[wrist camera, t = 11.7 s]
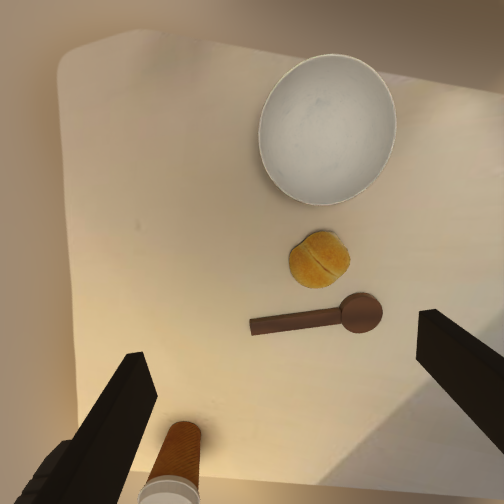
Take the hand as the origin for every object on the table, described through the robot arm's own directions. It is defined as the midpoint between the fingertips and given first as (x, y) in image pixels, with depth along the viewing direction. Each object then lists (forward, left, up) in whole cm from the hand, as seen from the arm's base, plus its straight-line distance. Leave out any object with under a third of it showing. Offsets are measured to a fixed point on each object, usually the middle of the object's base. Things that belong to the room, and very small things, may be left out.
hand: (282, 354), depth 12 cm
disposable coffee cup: (+38, -19, -27) cm, 50 cm away
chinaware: (-11, +9, -27) cm, 31 cm away
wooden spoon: (+16, +8, -27) cm, 32 cm away
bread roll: (+5, +9, -27) cm, 29 cm away
